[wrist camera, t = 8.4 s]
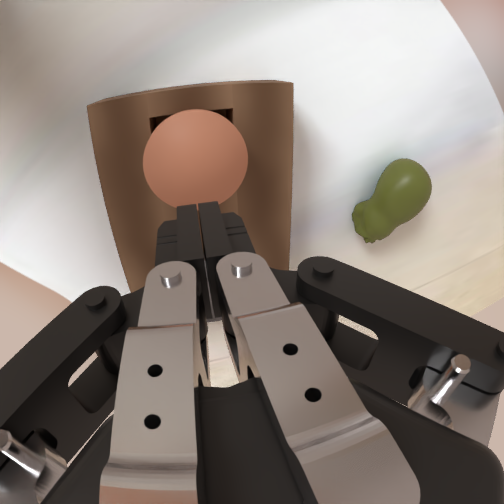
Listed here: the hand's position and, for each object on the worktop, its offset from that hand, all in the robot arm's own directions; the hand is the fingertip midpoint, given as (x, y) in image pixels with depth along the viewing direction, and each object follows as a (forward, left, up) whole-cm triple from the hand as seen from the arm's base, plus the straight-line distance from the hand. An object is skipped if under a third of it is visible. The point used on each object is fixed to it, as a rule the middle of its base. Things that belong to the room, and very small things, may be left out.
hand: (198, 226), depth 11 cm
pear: (+19, -7, -16) cm, 26 cm away
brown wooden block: (0, -5, -16) cm, 17 cm away
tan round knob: (0, 0, -14) cm, 14 cm away
